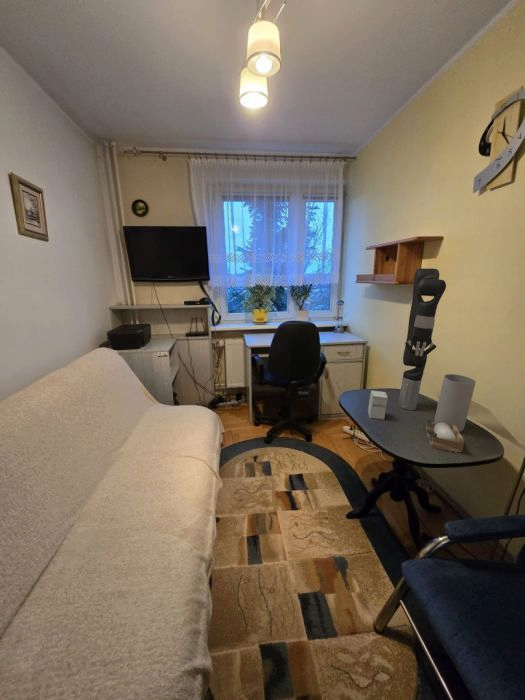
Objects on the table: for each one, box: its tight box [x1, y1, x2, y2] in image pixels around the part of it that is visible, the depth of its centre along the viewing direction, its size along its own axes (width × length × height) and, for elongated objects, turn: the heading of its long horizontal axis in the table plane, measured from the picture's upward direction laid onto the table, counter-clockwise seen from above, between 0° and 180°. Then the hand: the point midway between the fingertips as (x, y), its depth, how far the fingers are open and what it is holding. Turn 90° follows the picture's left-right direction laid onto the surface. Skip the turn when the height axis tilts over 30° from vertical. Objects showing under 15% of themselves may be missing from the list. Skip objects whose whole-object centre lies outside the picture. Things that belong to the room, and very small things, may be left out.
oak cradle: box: [424, 418, 465, 453], centre depth 127 cm, size 14×11×7 cm
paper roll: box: [433, 423, 457, 441], centre depth 127 cm, size 10×7×7 cm
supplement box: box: [367, 390, 389, 420], centre depth 147 cm, size 7×7×13 cm
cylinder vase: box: [433, 373, 477, 433], centre depth 138 cm, size 12×12×25 cm
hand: (416, 363), depth 130 cm, fingers closed
